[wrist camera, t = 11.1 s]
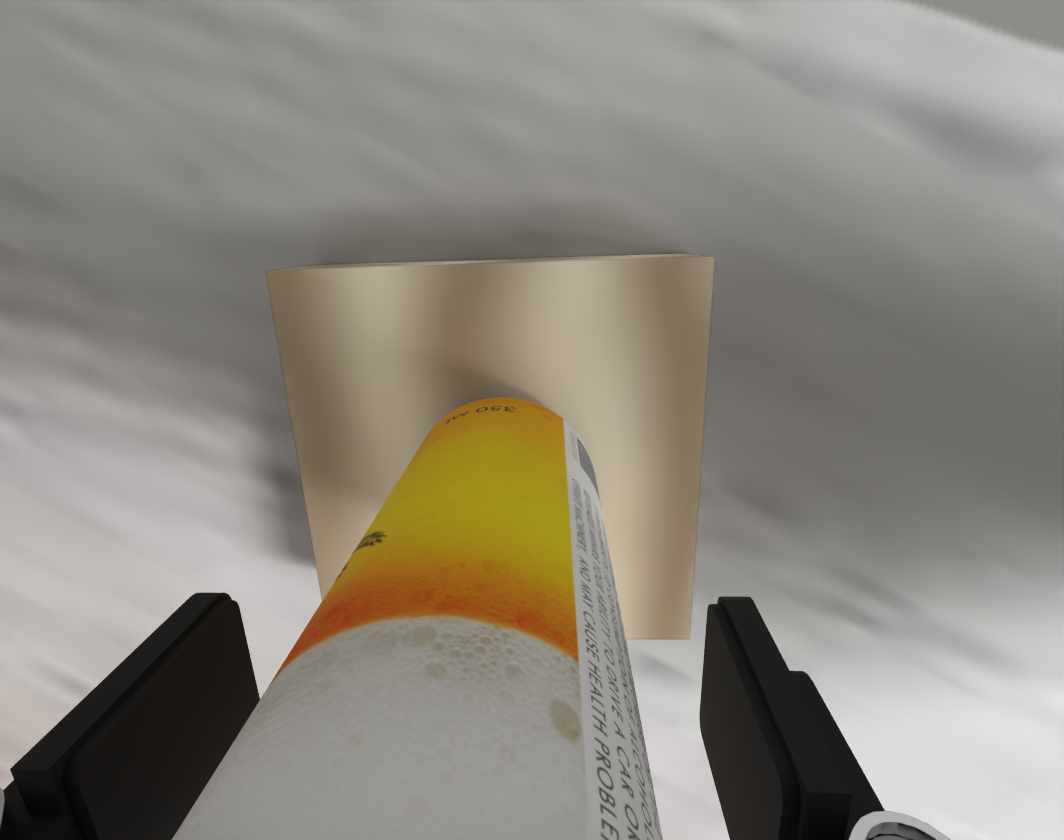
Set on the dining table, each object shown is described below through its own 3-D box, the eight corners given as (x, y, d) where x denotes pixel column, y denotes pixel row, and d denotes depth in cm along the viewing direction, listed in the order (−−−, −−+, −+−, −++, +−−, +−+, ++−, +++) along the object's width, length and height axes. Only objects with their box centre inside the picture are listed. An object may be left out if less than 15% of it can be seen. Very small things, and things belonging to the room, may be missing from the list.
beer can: (385, 444, 19) (-77, 1020, 5) (537, 357, 18) (485, 782, 4) (478, 578, 21) (323, 1307, 7) (624, 504, 20) (813, 1192, 6)
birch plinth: (685, 253, 21) (714, 256, 17) (669, 578, 25) (689, 639, 21) (316, 264, 22) (265, 270, 18) (362, 580, 26) (328, 639, 22)
